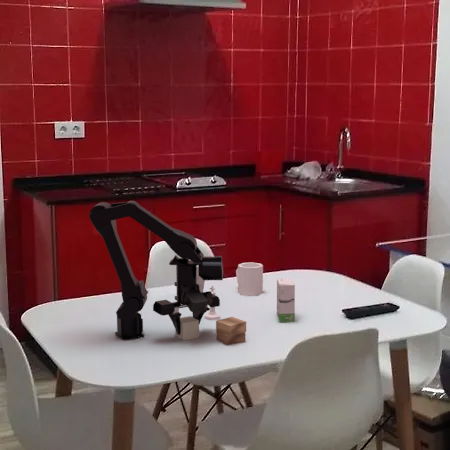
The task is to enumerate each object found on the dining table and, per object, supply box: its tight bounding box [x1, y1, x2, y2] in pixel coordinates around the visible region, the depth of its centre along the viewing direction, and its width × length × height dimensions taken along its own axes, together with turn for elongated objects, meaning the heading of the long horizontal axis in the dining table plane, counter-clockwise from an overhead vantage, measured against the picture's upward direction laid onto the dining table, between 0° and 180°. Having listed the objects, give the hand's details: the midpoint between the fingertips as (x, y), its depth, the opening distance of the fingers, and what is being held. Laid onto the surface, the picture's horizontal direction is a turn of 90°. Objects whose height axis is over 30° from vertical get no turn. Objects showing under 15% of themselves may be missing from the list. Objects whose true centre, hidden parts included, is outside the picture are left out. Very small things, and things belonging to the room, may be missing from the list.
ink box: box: [276, 277, 296, 323], centre depth 233 cm, size 9×5×12 cm, turn 2°
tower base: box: [215, 330, 246, 346], centre depth 213 cm, size 6×6×3 cm
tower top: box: [215, 316, 247, 336], centre depth 213 cm, size 6×6×3 cm
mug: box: [235, 261, 264, 297], centre depth 263 cm, size 12×9×10 cm
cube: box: [174, 315, 200, 341], centre depth 217 cm, size 5×5×5 cm
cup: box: [197, 266, 206, 292], centre depth 255 cm, size 8×8×10 cm
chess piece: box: [204, 285, 221, 321], centre depth 234 cm, size 5×5×10 cm
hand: (187, 332), depth 217 cm, fingers closed on cube, 5 cm apart
